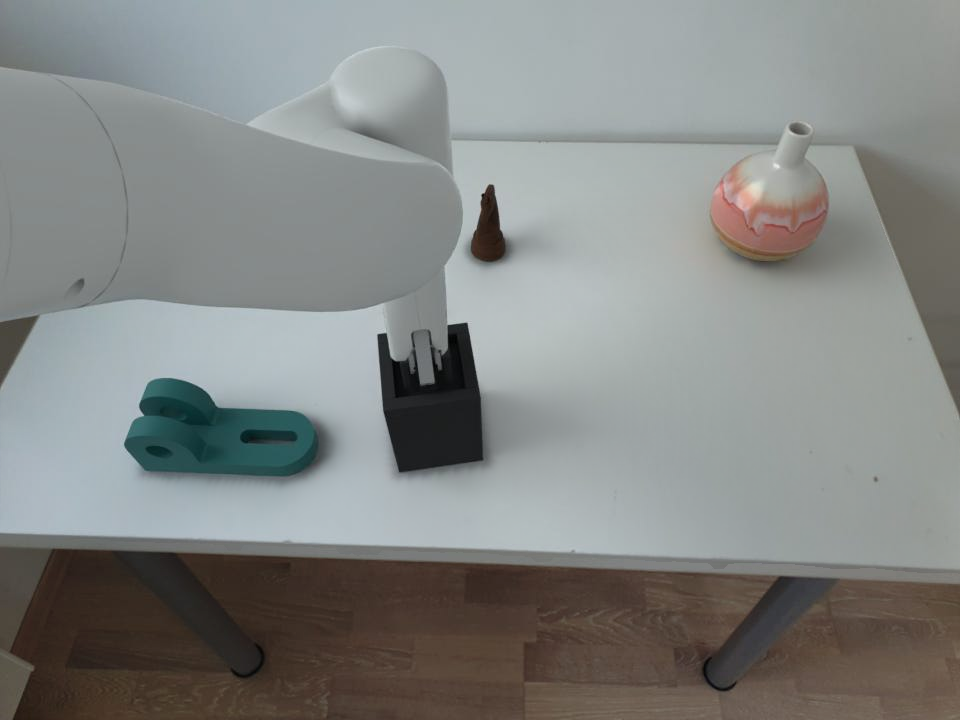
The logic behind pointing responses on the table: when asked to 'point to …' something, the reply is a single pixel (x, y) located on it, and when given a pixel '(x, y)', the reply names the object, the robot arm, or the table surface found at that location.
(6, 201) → the robot arm
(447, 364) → the dark grey cube
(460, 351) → the black rectangular box
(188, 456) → the bracket
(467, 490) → the table surface
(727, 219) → the vase
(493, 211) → the chess piece
